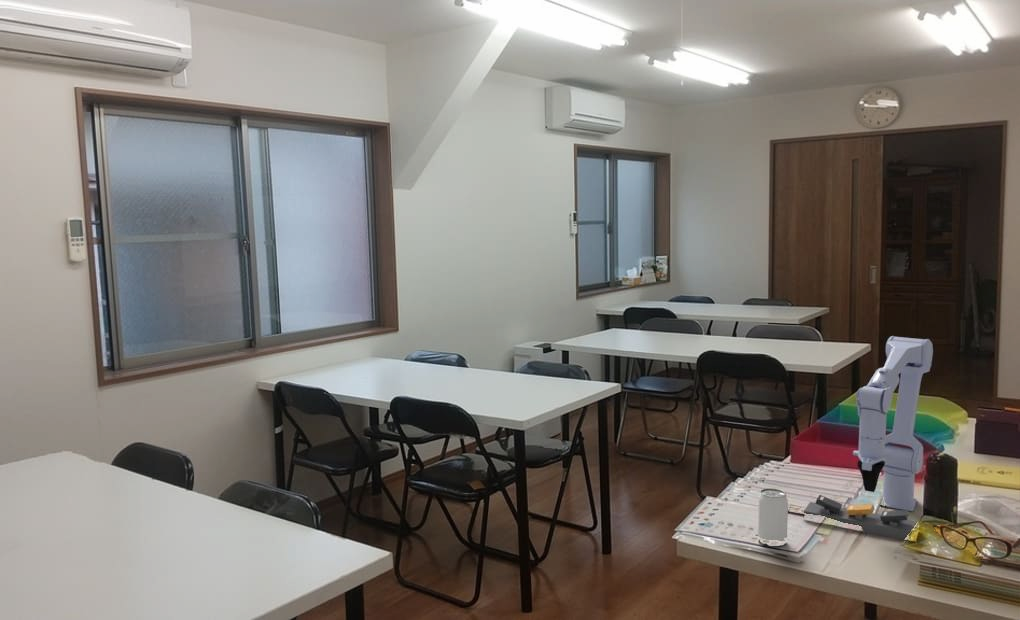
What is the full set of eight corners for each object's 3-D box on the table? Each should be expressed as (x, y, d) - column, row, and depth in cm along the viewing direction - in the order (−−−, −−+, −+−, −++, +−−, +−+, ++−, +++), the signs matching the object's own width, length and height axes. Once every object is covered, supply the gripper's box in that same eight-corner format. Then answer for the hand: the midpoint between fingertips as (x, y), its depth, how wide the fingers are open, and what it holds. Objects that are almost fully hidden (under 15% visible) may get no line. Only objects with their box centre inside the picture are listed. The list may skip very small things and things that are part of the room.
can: (788, 548, 172) (790, 498, 170) (759, 546, 173) (760, 497, 172) (784, 536, 178) (785, 488, 177) (756, 535, 180) (757, 487, 178)
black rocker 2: (884, 518, 182) (882, 511, 182) (909, 517, 179) (907, 510, 179) (882, 523, 179) (880, 516, 179) (907, 522, 176) (905, 515, 176)
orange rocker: (850, 512, 186) (848, 505, 186) (874, 511, 183) (873, 503, 183) (848, 517, 183) (846, 510, 183) (872, 516, 180) (870, 508, 180)
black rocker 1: (817, 500, 190) (819, 494, 190) (840, 510, 187) (842, 504, 187) (814, 505, 187) (816, 499, 187) (837, 515, 184) (839, 508, 184)
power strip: (789, 507, 196) (790, 494, 196) (919, 531, 179) (920, 517, 179) (783, 516, 190) (783, 503, 190) (916, 542, 174) (917, 528, 173)
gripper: (859, 426, 188) (856, 478, 189) (848, 441, 176) (846, 496, 178) (890, 430, 184) (887, 483, 186) (882, 446, 172) (879, 502, 174)
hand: (869, 490), depth 181 cm, fingers closed
